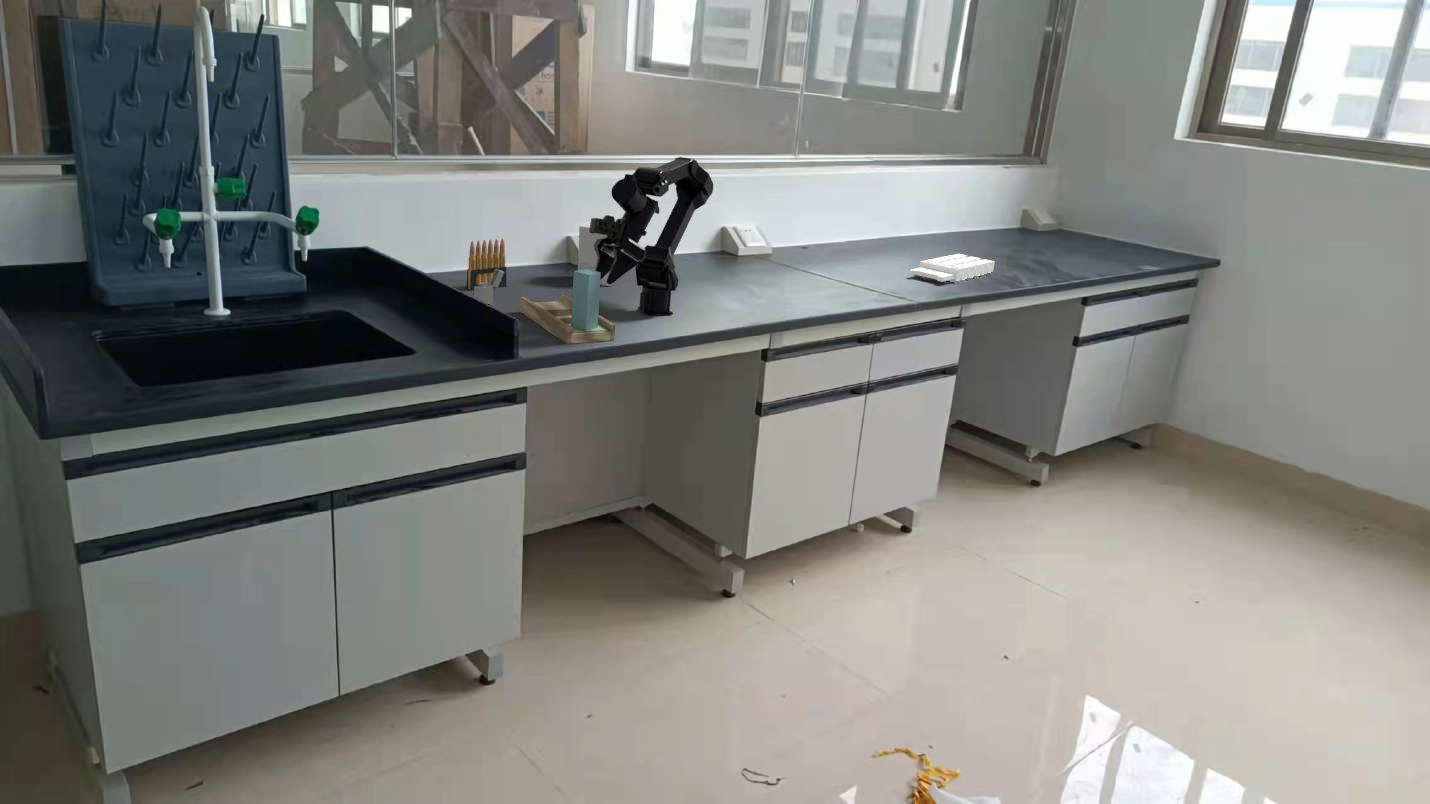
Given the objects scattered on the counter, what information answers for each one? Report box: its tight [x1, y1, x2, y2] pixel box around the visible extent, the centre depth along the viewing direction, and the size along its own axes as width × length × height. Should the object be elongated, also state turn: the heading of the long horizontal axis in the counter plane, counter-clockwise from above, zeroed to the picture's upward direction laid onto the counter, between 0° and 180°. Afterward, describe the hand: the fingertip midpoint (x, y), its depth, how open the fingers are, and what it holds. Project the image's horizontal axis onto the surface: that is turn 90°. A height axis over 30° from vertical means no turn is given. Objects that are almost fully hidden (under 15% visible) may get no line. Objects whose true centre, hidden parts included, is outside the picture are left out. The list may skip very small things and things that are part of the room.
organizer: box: [908, 253, 995, 282], centre depth 318 cm, size 13×5×35 cm
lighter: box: [473, 269, 504, 306], centre depth 231 cm, size 7×2×8 cm, turn 138°
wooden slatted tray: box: [519, 294, 616, 345], centre depth 221 cm, size 11×26×4 cm, turn 32°
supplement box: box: [577, 221, 611, 287], centre depth 262 cm, size 9×9×15 cm
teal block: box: [571, 269, 601, 331], centre depth 211 cm, size 4×4×12 cm
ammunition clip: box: [466, 238, 508, 292], centre depth 245 cm, size 11×2×12 cm, turn 138°
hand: (601, 282), depth 220 cm, fingers open, 9 cm apart
